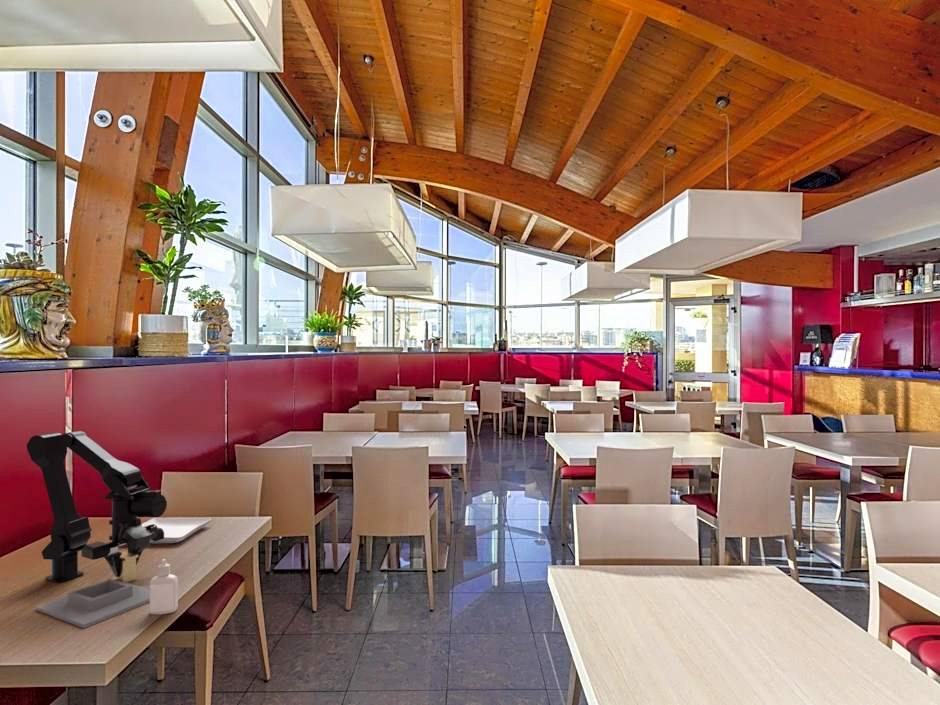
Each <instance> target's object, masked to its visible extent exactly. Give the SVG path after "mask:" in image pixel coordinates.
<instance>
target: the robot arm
mask: <svg viewBox="0 0 940 705" xmlns="http://www.w3.org/2000/svg"><path fill="white" fill-rule="evenodd" d="M68 449H69V450H71V451H72V452H73V453H75V454H76V455H77V456H78V457H79V458H80V459H82V460H83V461H84V462H85V463H87V464H88V465H90V467H92V468H93V469H94V470H96V471H97V472H98V473H99V474H100V477H101V481H102V482H103V484H104V485H105V486H106V487H107V489H109V490H110V491H109V493H107V494H106V495H105V496H104V500H107V501H108V500H109V501H110V500H111V507H112V508H111V519H109V520H108V521H109V522H108V524H109V525H111V535H109V536H108V540H109V542H103V541H95V542H91V543H88V542H89V540H90V539H91V531H92V530H93V528H91V525H90V520H89V517H88V516H85V517H82V516H81V515H80V514H78V513H77V508H76V505H75V502H74V498H73V494H72V490H71V487H70V482H69V479H68V478H69V477H68V475H67V472H66V467H65V460H66V456H67V454H68ZM26 450H27V453H28V454H29V457H30V460H31V462H33V463H34V464H35V465H36V466H37V467H39V468H40V469H41V473H42V477H43V480H44V484H45V488H46V492H47V495H48V496H47V497H48V500H49V503H50V507H51V511H52V515H53V519H54V520H53V524H52V526H51V529H50V542H48V544H47V545H46V546H45V547H44V548H43V549H42V550H41V556H42V558H43V560H50V561H51V574H50V575H48V576H45V580H48V581H51V582H54V583H57V584H58V583H62V582H65V581H68V580H71V579H73V578H74V579H75V578H77V577H81V576H83V575H84V574H85V572H83V571H80V570H79V565H78V564H79V554H78V552H80V551H81V557H82V558H86V559H89V560H98V559H99V560H100V559H102V558H104V559H105V561H106V562H107V563H108V565H109V567H110V569H111V571H112V573H113V576H114V575H115V576H116V577H119V576H120V556H121V554H122V553H121V552H122V551H121V552H120V551H119V548H122V547H125V546H127V552H130V553H134V554H138V558H136V566H137V565H138V563H139V560H140V557H141V555H142V553H143V551H144V550H145V549H146V548H147V547H149V546H151V543H150V540H153V541H158V540H161V539H164V531H163V529H162V528H157V525H155V524H151V525H148V526H144V527H143V526H142V525H141V524H142V520H141V517H145V518H146V517H147V518H148V517H149V518H161V516H163V515H164V513H165V512H166V510H167V506H168V501H167V499H166V497H165V496H164V494H162V490H161V489H155V490H152V489H151V487H150V486H149V484H148V482H147V481H146V480H145V478H144V476H143V475H142V472H141V470H140V469H139V467H137V466H135V465H133V464H131V463H130V462H126V461H122V460H119V459H117V458H115V457H114V455H113V456H112V455H111V454H110V453H109V452H107V451H106V450H105V449H103V448H102V447H101V446H100V445H99V444H98V443H96V442H95V441H94V440H92V439H91V438H90V437H88V435H87V433H86V432H84V431H82V430H75V431H70V432H65V433H64V434H62V433H60V432H50V433H44V434H38V435H33V436H31V437H30V438H29V440H28V442H27V443H26Z"/></svg>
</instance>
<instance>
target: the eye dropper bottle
mask: <svg viewBox="0 0 940 705" xmlns="http://www.w3.org/2000/svg"><path fill="white" fill-rule="evenodd" d="M170 567H171V564H170V563H168V562H167V560H166V558H163V559H161V563H160V564H159V565H158V566H157V575H155V576H153V577H152V578H151V580H150V582H149V589H150V602H149V613H150V614H151V615H166V614H167V615H168V614H173V613H174V612H176V611H177V610H178V608H179V605H178V604H179V601H178V600H179V596H178V595H179V594H178V592H179V590H178V589H179V587H178V586H179V585H178V583H179V582H178V580H179V579H178V577H177V575H174V574H172V573H170V572H171V571H170V569H171V568H170Z"/></svg>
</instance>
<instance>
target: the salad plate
mask: <svg viewBox="0 0 940 705" xmlns="http://www.w3.org/2000/svg"><path fill="white" fill-rule="evenodd" d="M211 521H212V518H210V517H152V518H151V519H149V520H147V521H145V522H143V523H141V525H142V526H143V527H144V526H148V525H151V524H155V525H157V528H162V529H163V531H164V539H161V540H158V541H153V540H150V544H175V543H179V542H181V541H183V540H185V539H186V538H189V537H190V536H191V535H193V534H195V533H196V532H197V531H199V530H201V529H203V528H204V527H206V526H207V525H208V524H209V523H210V522H211Z"/></svg>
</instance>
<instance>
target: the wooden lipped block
mask: <svg viewBox="0 0 940 705" xmlns="http://www.w3.org/2000/svg"><path fill="white" fill-rule="evenodd" d="M121 553H122V554H121V556H120V576H119V577H116V576H115V575H114V574H113V580H114V579H116V580H119V581H123V582H126V583H129V582H132V581H134V580H135V581H136V580H137V565H136V558H138V554H134V553H130V552H128V551H125V550H124V551H121Z"/></svg>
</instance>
